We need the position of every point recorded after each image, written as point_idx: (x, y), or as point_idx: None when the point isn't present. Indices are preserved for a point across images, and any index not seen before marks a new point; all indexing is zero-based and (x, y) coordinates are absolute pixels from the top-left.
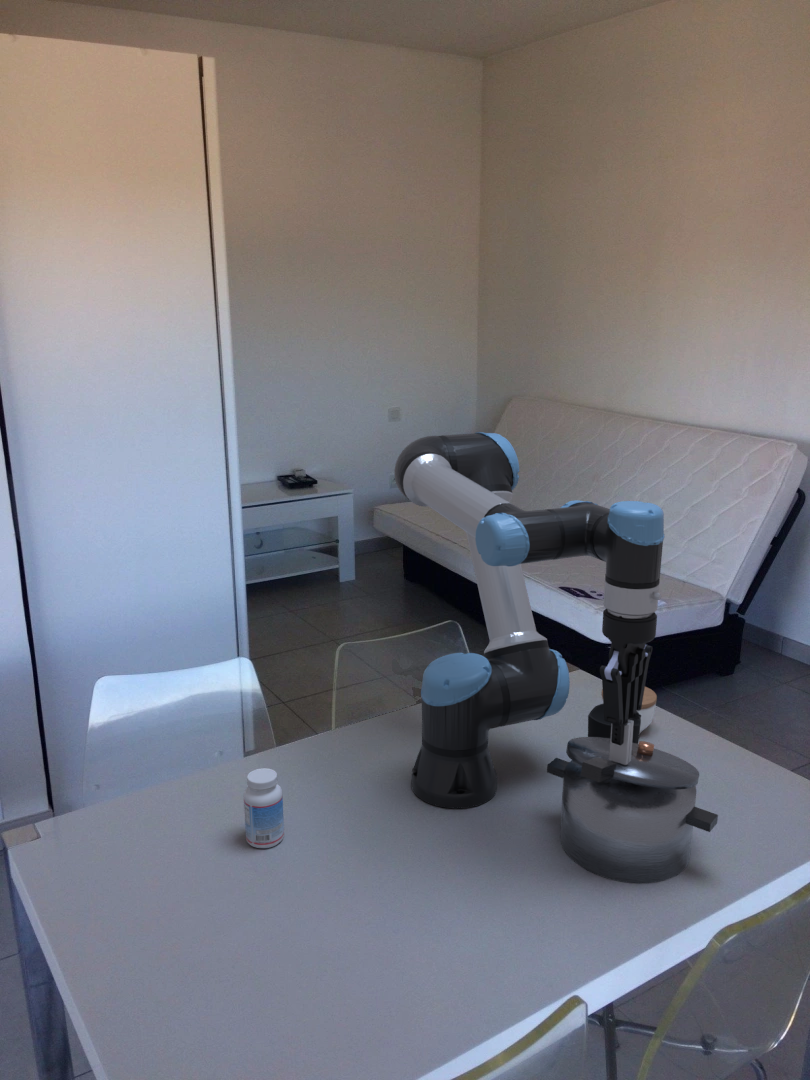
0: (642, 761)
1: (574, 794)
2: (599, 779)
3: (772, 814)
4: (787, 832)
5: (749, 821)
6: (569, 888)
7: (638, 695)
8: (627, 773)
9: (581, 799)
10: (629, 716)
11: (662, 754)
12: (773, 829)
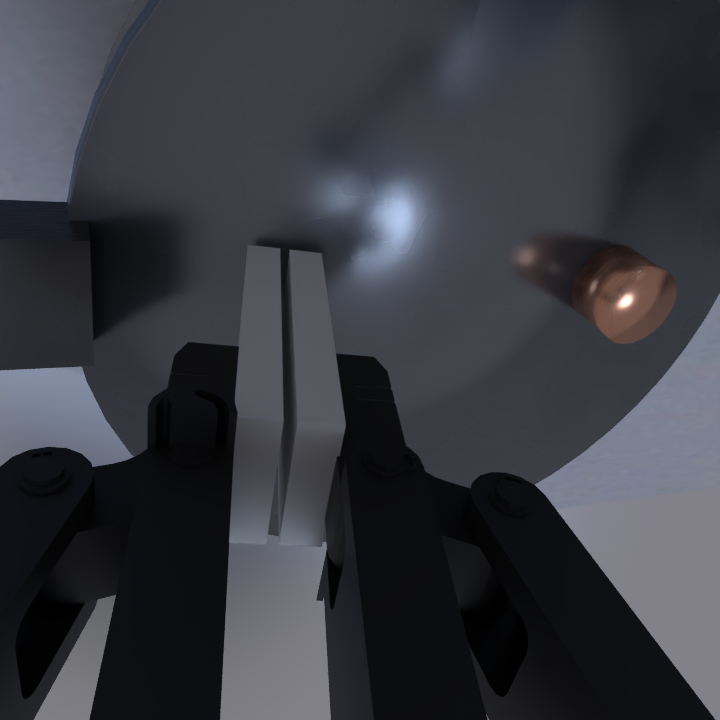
0: (440, 337)
1: (129, 15)
2: None
3: (695, 440)
4: (617, 478)
5: (643, 405)
6: (8, 42)
7: (493, 702)
8: (108, 400)
9: (104, 72)
10: (326, 540)
11: (653, 331)
12: (621, 453)
